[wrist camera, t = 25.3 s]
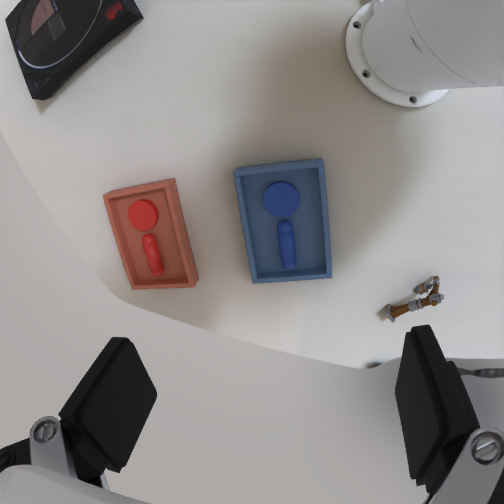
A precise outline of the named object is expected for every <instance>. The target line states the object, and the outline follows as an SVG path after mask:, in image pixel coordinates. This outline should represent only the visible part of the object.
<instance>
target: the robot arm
mask: <svg viewBox="0 0 504 504" xmlns="http://www.w3.org/2000/svg"><path fill="white" fill-rule="evenodd" d="M354 25H356V26H358V29H356V28H354ZM345 47H346V52H347V57H348V59H349V62H350V65H351V67H352V69H353V70H354V72H355V74H356V76H357V77H358V78H359V79H360V81H361V82H362V83H363V84H364V86H366V87H367V88H368V89H369V90H370V91H371V92H372V93H374V94H375V95H377V96H378V97H380V98H381V99H383V100H385V101H388V102H390V103H392V104H395V105H399V106H403V107H422V106H426V105H430V104H432V103H434V102H436V101H438V100H440V99H441V98H442V97H443V96H444V95H446V93H447V92H448V91H449V89H456V88H471V87H492V86H504V0H374V1H371V2H369V3H367V4H365V5H364V6H362V7H361V8H360V9H359V10H358V11H357V12H356V13H355V14H354V16H353V17H352V19H351V20H350V23H349V25H348V27H347V31H346V36H345ZM363 73H366V74H367V77H364V76H363ZM409 98H412V102H410V100H409ZM395 396H396V401H397V405H398V411H399V415H400V420H401V425H402V431H403V436H404V441H405V447H406V453H407V459H408V465H409V472H410V477H411V479H416V484H417V486H420V485H424V484H425V485H426V491H427V493H429V494H428V496H427V497H426V499H425V500H424V502H423V503H422V504H504V432H503V431H502V430H500V429H498V428H496V427H490V426H489V427H482V428H480V425H479V422H478V419H477V417H476V414H475V411H474V409H473V406H472V404H471V401H470V398H469V396H468V393H467V391H466V389H465V386H464V383H463V381H462V379H461V376H460V374H459V372H458V369H457V367H456V366H455V364H454V362H452V361H447V362H446V360H445V357H444V355H443V353H442V350H441V348H440V346H439V344H438V341H437V339H436V337H435V335H434V333H433V331H432V329H431V327H430V325H422V326H415V327H412V329H411V332H407V333H406V335H405V341H404V347H403V353H402V358H401V363H400V368H399V373H398V378H397V382H396V387H395ZM156 398H157V391H156V389H155V387H154V385H153V383H152V381H151V379H150V377H149V375H148V373H147V371H146V369H145V367H144V365H143V363H142V361H141V359H140V357H139V354H138V352H137V350H136V348H135V346H134V344H133V343H132V342H130V340H129V339H128V338H124V337H113V338H111V339H110V341H109V342H108V343H107V345H106V346H105V348H104V349H103V350H102V352H101V353H100V354H99V356H98V357H97V359H96V360H95V361H94V363H93V364H92V366H91V367H90V369H89V370H88V371H87V373H86V374H85V376H84V377H83V378H82V380H81V381H80V383H79V384H78V386H77V387H76V389H75V390H74V392H73V393H72V395H71V396H70V398H69V399H68V400H67V402H66V403H65V405H64V407H63V408H62V410H61V411H60V412H59V414H58V415H59V416H60V417H61V420H60V421H59V420H58V419H57V418H55V417H53V416H47V417H43V418H41V419H39V420H38V421H36V422H35V424H34V425H33V426H32V428H31V430H30V438H27V439H25V440H22V441H20V442H17V443H14V444H12V445H9V446H6V447H4V448H2V449H0V504H151V503H147V502H143V501H140V500H136V499H133V498H129V497H126V496H123V495H120V494H117V493H114V492H111V491H110V490H109V487H108V484H107V481H106V477H105V474H104V470H105V468H107V469H108V470H111V471H114V472H117V473H120V471H121V469H122V467H124V466H126V464H127V462H128V460H129V457H130V455H131V453H132V451H133V449H134V446H135V444H136V442H137V440H138V438H139V435H140V433H141V431H142V429H143V426H144V425H145V422H146V420H147V418H148V416H149V414H150V411H151V409H152V407H153V405H154V403H155V401H156Z"/></svg>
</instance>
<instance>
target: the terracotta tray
mask: <svg viewBox="0 0 504 504" xmlns="http://www.w3.org/2000/svg"><path fill="white" fill-rule="evenodd" d="M103 198H104V202H105V206H106V209H107V213H108V216H109V220H110V223H111V227H112V230H113V233H114V237H115V240H116V243H117V246H118V249H119V253H120V256H121V259H122V262H123V265H124V268H125V271H126V274H127V276H128V279H129V282H130V285H131V288H132V290H136V289H162V288H184V287H195V285H196V283H197V281H198V279H199V278H198V274H197V271H196V267H195V263H194V259H193V255H192V251H191V247H190V243H189V239H188V234H187V230H186V226H185V222H184V218H183V213H182V209H181V205H180V200H179V196H178V191H177V187H176V182H175V178H172V179H167V180H162V181H156V182H151V183H146V184H141V185H136V186H132V187H127V188H122V189H118V190H113V191H110V192H108V193H106V194H104V195H103ZM139 199H147V200H150V201H151V202H153V203H154V204H155V205H156V207H157V209H158V212H159V219H158V222H157V224H156V225H155V226H154V227H153V228H151V229H150V230H148V231H140V230H138V229H136V228H135V227H134V226H133V225H132V224H131V223H130V221H129V217H128V210H129V208H130V206H131V205H132V204H133V203H134V202H136V201H137V200H139ZM147 233H150V234H153V235H154V236H155V239H156V242H157V246H158V249H159V253H160V256H161V260H162V263H163V266H164V273H163V274H162V275H161V276H160V277H155V276H153V275H152V274H151V272H150V268H149V265H148V262H147V259H146V255H145V252H144V249H143V245H142V242H141V240H142V237H143V236H144V235H145V234H147Z"/></svg>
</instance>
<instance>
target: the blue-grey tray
mask: <svg viewBox="0 0 504 504" xmlns="http://www.w3.org/2000/svg"><path fill="white" fill-rule="evenodd" d="M233 175H234V181H235V186H236V192H237V198H238V203H239V209H240V215H241V220H242V226H243V232H244V237H245V243H246V249H247V254H248V260H249V265H250V271H251V277H252V282H253V284H255V283H270V282H284V281H298V280H311V279H324V278H332V266H331V247H330V232H329V218H328V205H327V194H326V183H325V173H324V164H323V160H322V158H320V159H309V160H299V161H290V162H280V163H272V164H264V165H256V166H248V167H241V168H236V169H235V170H234V171H233ZM277 181H286V182H289V183H291V184H292V185H293V186H295V188H296V189H297V191H298V193H299V205H298V208H297V210H296V211H295V212H294V213H293V214H291V215H290V216H287V217H276V216H274V215H272V214H270V213H269V212H268V211H267V210H266V208H265V206H264V203H263V196H264V193H265V191H266V189H267V187H268V186H269V185H270V184H272V183H274V182H277ZM283 220H287V221H289V222H291V224H292V225H293V231H294V239H295V248H296V257H297V264H296V266H295V267H294V268H293V269H290V270H287V269H285V268H284V267H283V266H282V264H281V258H280V251H279V243H278V236H277V225H278V223H279V222H280V221H283Z"/></svg>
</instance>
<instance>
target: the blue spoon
mask: <svg viewBox="0 0 504 504" xmlns="http://www.w3.org/2000/svg"><path fill="white" fill-rule="evenodd" d="M263 203H264V206H265V208H266V210H267V211H268V212H269V213H270V214H272V215H274V216H276V217H287V216H290V215H291V214H293V213H294V212H295V211H296V210H297V208H298V205H299V193H298V191H297V189H296V188H295V186H293V185H292V184H291V183H289V182H286V181H277V182H274V183H272V184H270V185H269V186H268V187H267V189H266V191H265V193H264V196H263ZM277 236H278V243H279V251H280V258H281V264H282V266H283V267H284V268H285V269H287V270H290V269H293V268H294V267H295V266H296V264H297V257H296V248H295V239H294V231H293V225H292V224H291V222H289V221H287V220H283V221H280V222H279V223H278V225H277Z"/></svg>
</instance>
